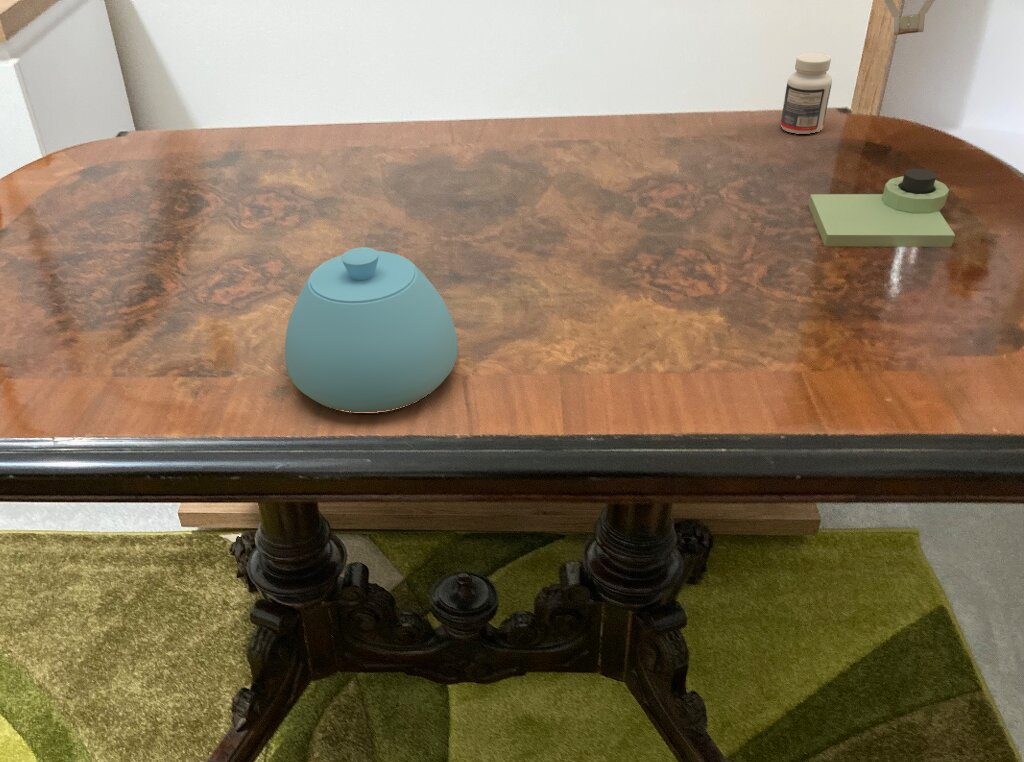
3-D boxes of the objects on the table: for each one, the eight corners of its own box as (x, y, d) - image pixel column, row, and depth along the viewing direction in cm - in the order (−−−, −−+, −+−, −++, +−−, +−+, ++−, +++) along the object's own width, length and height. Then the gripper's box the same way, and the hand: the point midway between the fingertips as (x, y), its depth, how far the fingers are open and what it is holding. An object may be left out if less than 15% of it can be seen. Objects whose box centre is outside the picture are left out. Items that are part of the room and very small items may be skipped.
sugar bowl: (270, 421, 77) (243, 299, 69) (311, 327, 88) (292, 214, 81) (448, 426, 74) (440, 300, 67) (467, 329, 86) (462, 213, 79)
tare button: (927, 184, 97) (932, 168, 96) (935, 195, 95) (940, 179, 94) (897, 184, 98) (901, 168, 97) (904, 196, 96) (908, 179, 94)
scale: (931, 202, 100) (939, 175, 98) (961, 248, 91) (970, 219, 90) (806, 202, 102) (811, 176, 100) (824, 247, 94) (830, 219, 92)
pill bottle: (794, 118, 122) (807, 48, 117) (830, 127, 119) (845, 55, 113) (771, 129, 120) (783, 58, 114) (807, 138, 116) (821, 66, 111)
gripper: (807, -98, 95) (802, 47, 100) (1042, -139, 87) (1022, 21, 92) (809, -94, 100) (804, 44, 106) (1031, -133, 92) (1013, 19, 97)
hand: (907, 33), depth 99 cm, fingers closed
